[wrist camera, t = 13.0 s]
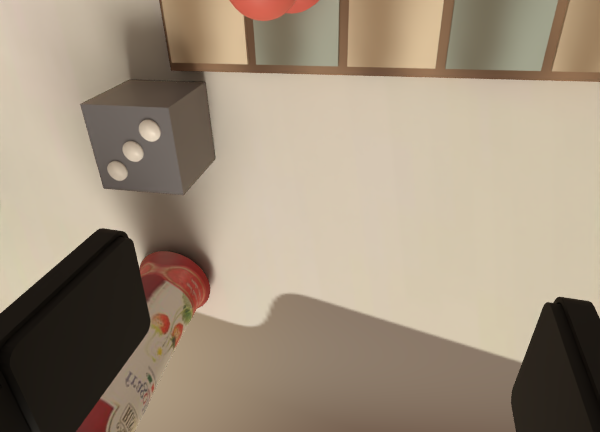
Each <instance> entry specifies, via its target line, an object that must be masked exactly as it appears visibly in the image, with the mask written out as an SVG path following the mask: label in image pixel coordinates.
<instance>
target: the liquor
mask: <svg viewBox="0 0 600 432" xmlns="http://www.w3.org/2000/svg"><path fill="white" fill-rule="evenodd" d="M140 274H141V279H142V283H143V288H144V292H145V297H146V301H147V306H148V310H149V315H150V321H151V322H150V328H149V331H148V333H147V334H146V336H145V337H144V339H143V340H142V341H141V343H140V344H139V346H138V347H137V348H136V350H135V351H134V352H133V354H132V355H131V357H130V358H129V359H128V361H127V362H126V363H125V365H124V366H123V368H122V369H121V370H120V372H119V373H118V374H117V376H116V377H115V379H114V380H113V381H112V383H111V384H110V386H109V387H108V388H107V390H106V391H105V392H104V394H103V395H102V397H101V398H100V399H99V401H98V402H97V403H96V405H95V406H94V408H93V409H92V410H91V412H90V413H89V415H88V416H87V417H86V419H85V420H84V421H83V423H82V424H81V426H80V427H79V428H78V430H77V431H76V432H135V430H136V428H137V426H138V424H139V422H140V420H141V418H142V416H143V414H144V412H145V410H146V408H147V406H148V404H149V401H150V400H151V398H152V395H153V393H154V391H155V389H156V387H157V385H158V383H159V380H160V379H161V377H162V374H163V372H164V370H165V368H166V366H167V364H168V362H169V360H170V359H171V357H172V355H173V353H174V351H175V349H176V347H177V345H178V343H179V341H180V339H181V337H182V335H183V333H184V331H185V330H186V328H187V326H188V324H189V322H190V320H191V318H192V317H193V315H194V313H195V311H196V309H197V308H199V307H201V306H203V305H204V304H205V303H206V301H207V300H208V298H209V294H210V285H209V281H208V279H207V277H206V275H205V273H204V272H203V271H202V269H201V268H200V267H199V266H198V265H197V264H196V263H194V262H193V261H192V260H190V259H189V258H187V257H185V256H183V255H180V254H178V253H174V252H169V251H159V252H154V253H152V254H149V255H148V256H147V257H145V258H144V260H143V261H142V262H141V265H140Z"/></svg>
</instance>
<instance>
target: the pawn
mask: <svg viewBox="0 0 600 432" xmlns="http://www.w3.org/2000/svg"><path fill="white" fill-rule="evenodd" d="M318 1H319V0H230V2H231V3H232V5H233V6H234V7H235V8H236V9H237V10H238V11H239V12H240V13H241V14H243V15H244V16H246V17H248V18H251V19H254V20H258V21H269V20H273V19H276V18H279V17H281V16H282V15H284V14H285V13H291V14H292V13H299V12H303V11H305V10H307V9H309V8H311V7H312V6H313V5H315V4H316V3H317V2H318Z"/></svg>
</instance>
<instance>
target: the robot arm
mask: <svg viewBox="0 0 600 432" xmlns="http://www.w3.org/2000/svg"><path fill="white" fill-rule="evenodd" d="M150 322H151V321H150V315H149V310H148V306H147V301H146V297H145V292H144V288H143V283H142V279H141V274H140V270H139V265H138V261H137V256H136V252H135V247H134V243H133V241H132V240H131V239H129V238H128V235H127V234H126V233H125V232H123V231H117V230H110V229H104V228H103V229H99V230H97V231H96V232H94V233H93V234H92V235H91V236H90V237H89V238H87V239H86V240H85V241H84V242H83V243H82V244H81V245H79V246H78V247H77V248H76V249H75V250H74V251H72V252H71V253H70V254H69V255H68V256H67V257H65V258H64V259H63V260H62V261H61V262H60V263H58V264H57V265H56V266H55V267H54V268H53V269H51V270H50V271H49V272H48V273H47V274H46V275H45V276H43V277H42V278H41V279H40V280H39V281H38V282H36V283H35V284H34V285H33V286H32V287H31V288H29V289H28V290H27V291H26V292H25V293H24V294H22V295H21V296H20V297H19V298H18V299H17V300H15V301H14V302H13V303H12V304H11V305H10V306H9V307H7V308H6V309H5V310H4V311H3V312H2V313H0V432H76V431H77V430H78V428H79V427H80V426H81V424H82V423H83V421H84V420H85V419H86V417H87V416H88V415H89V413H90V412H91V410H92V409H93V408H94V406H95V405H96V403H97V402H98V401H99V399H100V398H101V397H102V395H103V394H104V392H105V391H106V390H107V388H108V387H109V386H110V384H111V383H112V381H113V380H114V379H115V377H116V376H117V374H118V373H119V372H120V370H121V369H122V368H123V366H124V365H125V363H126V362H127V361H128V359H129V358H130V357H131V355H132V354H133V352H134V351H135V350H136V348H137V347H138V346H139V344H140V343H141V341H142V340H143V339H144V337H145V336H146V334H147V333H148V331H149V328H150ZM511 404H512V411H513V417H514V422H515V428H516V432H600V318H599V316H598V314H597V312H596V309H595V307H594V306H593V304H592V303H591V302H589V301H584V300H577V299H571V298H564V297H557V298H556V300H555V301H554V303H549V302H547V303H545V304H544V307H543V309H542V312H541V314H540V317H539V320H538V322H537V325H536V328H535V330H534V333H533V336H532V338H531V341H530V344H529V346H528V349H527V352H526V354H525V357H524V360H523V362H522V365H521V368H520V371H519V373H518V376H517V378H516V381H515V384H514V387H513V390H512V396H511Z"/></svg>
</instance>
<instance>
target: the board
mask: <svg viewBox="0 0 600 432" xmlns="http://www.w3.org/2000/svg"><path fill="white" fill-rule="evenodd" d="M159 1H160V7H161V13H162V19H163V25H164V31H165V37H166V43H167V49H168V55H169V61H170V67H171V70H172V71H210V72H248V73H286V74H325V75H363V76H401V77H439V78H478V79H516V80H554V81H592V82H600V0H319V1H318V2H317V3H316V4H315V5H313V6H312V7H311V8H309V9H307V10H305V11H303V12H299V13H292V14H291V13H285V14H284V15H282V16H281V17H279V18H276V19H273V20H269V21H258V20H254V19H251V18H248V17H246V16H244V15H243V14H241V13H240V12H239V11H238V10H237V9H236V8H235V7H234V6H233V5H232V3H231V2H230V0H159Z"/></svg>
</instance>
